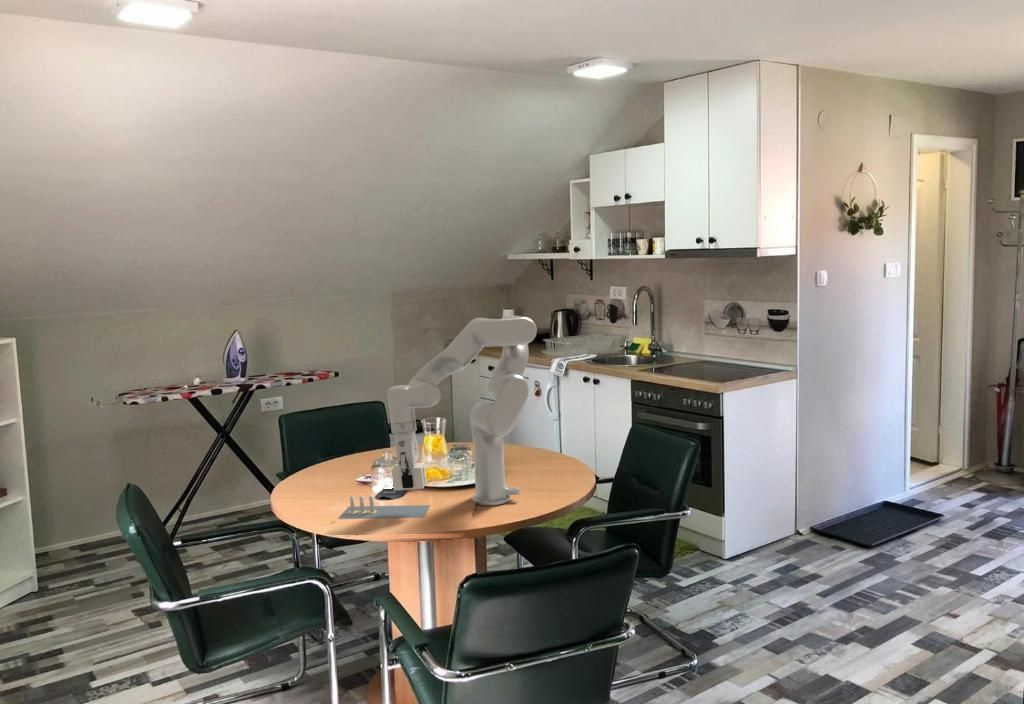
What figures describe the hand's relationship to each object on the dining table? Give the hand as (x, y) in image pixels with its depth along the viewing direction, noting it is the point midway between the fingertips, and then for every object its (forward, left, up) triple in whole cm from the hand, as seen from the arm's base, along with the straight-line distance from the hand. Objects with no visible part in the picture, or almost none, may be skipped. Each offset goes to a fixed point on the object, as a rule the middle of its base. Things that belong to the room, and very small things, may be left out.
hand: (410, 483), depth 255 cm
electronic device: (+10, -19, -10) cm, 24 cm away
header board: (+8, +1, -10) cm, 13 cm away
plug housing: (0, 0, -1) cm, 1 cm away
